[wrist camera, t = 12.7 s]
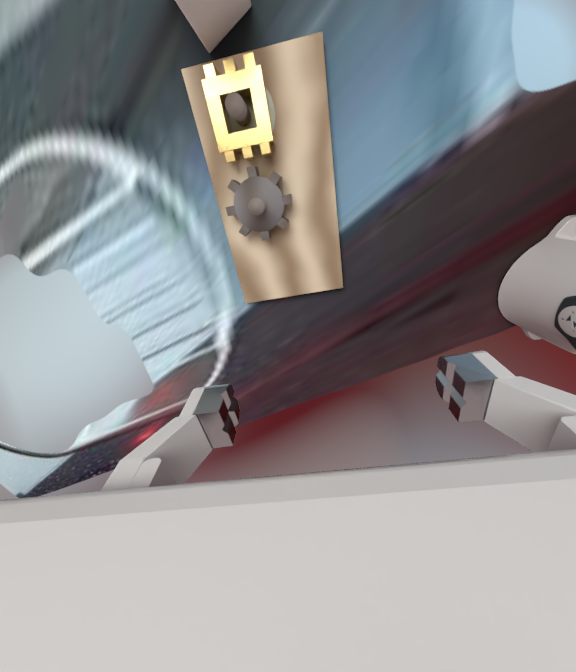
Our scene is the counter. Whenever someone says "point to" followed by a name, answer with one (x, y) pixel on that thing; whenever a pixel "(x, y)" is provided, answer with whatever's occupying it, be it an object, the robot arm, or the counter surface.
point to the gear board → (278, 175)
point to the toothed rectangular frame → (246, 86)
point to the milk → (213, 18)
